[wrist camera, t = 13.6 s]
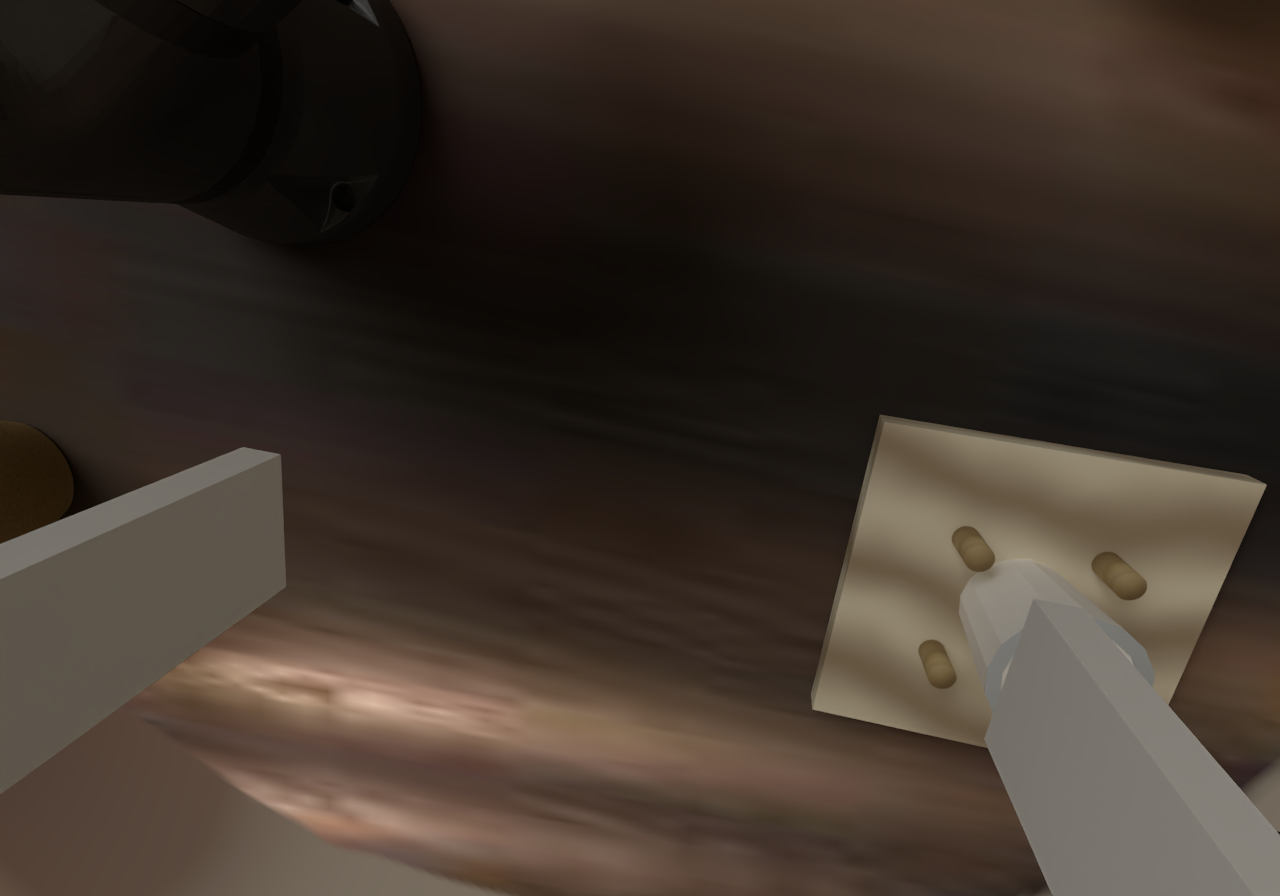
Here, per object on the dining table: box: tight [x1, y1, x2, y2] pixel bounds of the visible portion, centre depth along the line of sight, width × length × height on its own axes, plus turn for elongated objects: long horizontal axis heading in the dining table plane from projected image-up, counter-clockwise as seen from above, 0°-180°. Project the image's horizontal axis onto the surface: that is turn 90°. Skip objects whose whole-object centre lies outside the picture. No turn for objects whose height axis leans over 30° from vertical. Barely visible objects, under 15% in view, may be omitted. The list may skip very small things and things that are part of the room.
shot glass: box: [959, 559, 1155, 713], centre depth 33 cm, size 7×7×7 cm
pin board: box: [811, 415, 1267, 748], centre depth 36 cm, size 18×18×4 cm
